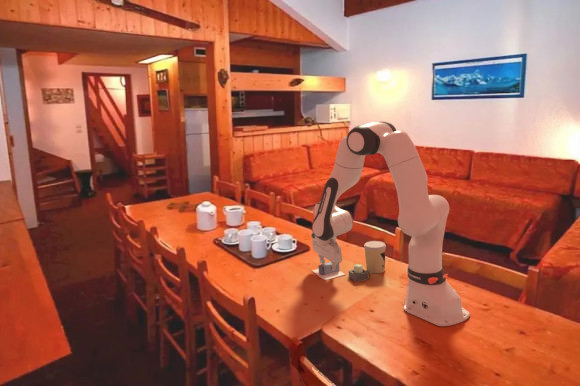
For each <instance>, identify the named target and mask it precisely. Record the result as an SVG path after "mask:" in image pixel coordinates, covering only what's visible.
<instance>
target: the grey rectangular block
mask: <svg viewBox="0 0 580 386" xmlns="http://www.w3.org/2000/svg"><path fill="white" fill-rule="evenodd" d="M331 266H332V263H331V261H329V262H325V263H324V264H322V263H320V264H319V265H318V269H319V274H321V275H326V274H330V273H334V272H337V271H341V270H340V263H337V265H336V270H334V271H332V270H331Z"/></svg>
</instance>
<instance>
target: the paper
mask: <svg viewBox="0 0 580 386" xmlns="http://www.w3.org/2000/svg"><path fill="white" fill-rule="evenodd" d="M311 271H312V273H314V274H315V275H317V276H318V277H319V278H321V279H323V280H324V281H328V280H332V279H336V278H339V277H342V276H346V273H344V272H343V271H341V270H340V271H337V272H334V273H330V274H326V275H321V274H319V268H317V269H313V270H311Z"/></svg>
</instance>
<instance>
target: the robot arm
mask: <svg viewBox="0 0 580 386" xmlns="http://www.w3.org/2000/svg"><path fill="white" fill-rule="evenodd" d="M336 151H337V152H336V155H335V159H334V165H333V169H332V172H331V173H330V175H329V178H327V181H326V182H325V184H324V187H323V190H322V195H321V198H320V201H318V202H316V203H315V204H314V205H315V206H314V215H313V216H314V218H313V219H312V220H313V221H312V223H311V224H312V225H311V231H312V232H310V237H311V243H312V250H313V251H314V252H315V253H316V254H318V258H319V262H320V264H324V263H326V260H328V261H329V262H331V263H332V266H331V270H332V271H334V270H336V265H337V263H339V264H341V263H342V262H343V254H342V249H341V245H339V244H338V241H337V236H340V235H343V234H346V233H348V232H350V231H351V230H352V229H353V226H354V218H353V215H352V214H351V212H349V211H348V210H345V209H342V208H341V207H338V206H337V205H336V204H337V201H338V199H339V198H340V196H341V195H342V194H343V193H345V192H346V191H347V190H349V189H351V188H352V187H353V186H355V185H356V184H357V183H358V182H359V181H360V180H361V177H362V174H363V172H364V171H363V170H364V164H365V159H366V156H374V155H376V154H380V155H381V156H382V157H383V159H384V160H385V163H386V165H387V167H388V170H389V173H390V175H391V178H392V180H393V183H394V187H395V190H396V194H397V200H398V202H397V203H398V210H399V211H398V215H397V224H398V228H399V229H400V230H401V231H402V233H403V234H405V235H407V236H409V237H411V238H410V241H409V243H408V265H407V270H406V271H407V272H406V273H407V279H408V283H407V286H406V293H405V294H406V295H405V301H404V306H403V311H404V310H405V312H406V311H407V313H408V314H411V315H413V316H415V317H417V318H420V319H422V320H425V321H426V322H429V323H431V324H433V325H436V326H438V327H449V326H453V325H456V324H457V325H458V324H460V323H463V322H465V321H466V320H468V319H469V317H470V315H471V314H470V311H468V310H467V309H466V308H464V307H463V305H462V299H461V297H460V295H459V294H458V291H457V290H456V289H454V288H453V287H452V286H451V284H450V283H449V282H448V281H447V277H449V276H448V275H449V273H445V272H444V271H445V269H444V268H443V263H442V262H443V259H442V257H443V242H444V237H445V233H446V232H445V231H446V226H447V219H448V216H449V214H450V204H449V202H448V201H447V199H446V198H445V197H444V196H442V195H438V194H429V191H428V180H429V178H428V174H427V172H426V169H425V166H424V164H423V162H422V159H421V157H420V155H419V151H418V150H417V148H416V146H415V143H414V142H413V140H412V138H411V137H410V136H409V134H408V133H407V132H405V131H403V130H397V129H396V127H395V126H394V124H392V123H390V122H387V121H378V122H367V123H364V124H360V125H356V126H354V127H353V128H351V129H350V131H348V133H347V134H346V135H345V136H344V137H342V138H341V139H340V141H339V144H338V148H337V150H336Z"/></svg>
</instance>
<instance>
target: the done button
mask: <svg viewBox="0 0 580 386" xmlns="http://www.w3.org/2000/svg"><path fill="white" fill-rule="evenodd" d="M353 269H354V273H355V274H361V273H363V269H364V266H363V265H362V264H361V263H360V264H359V263H357V264H354V265H353Z"/></svg>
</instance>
